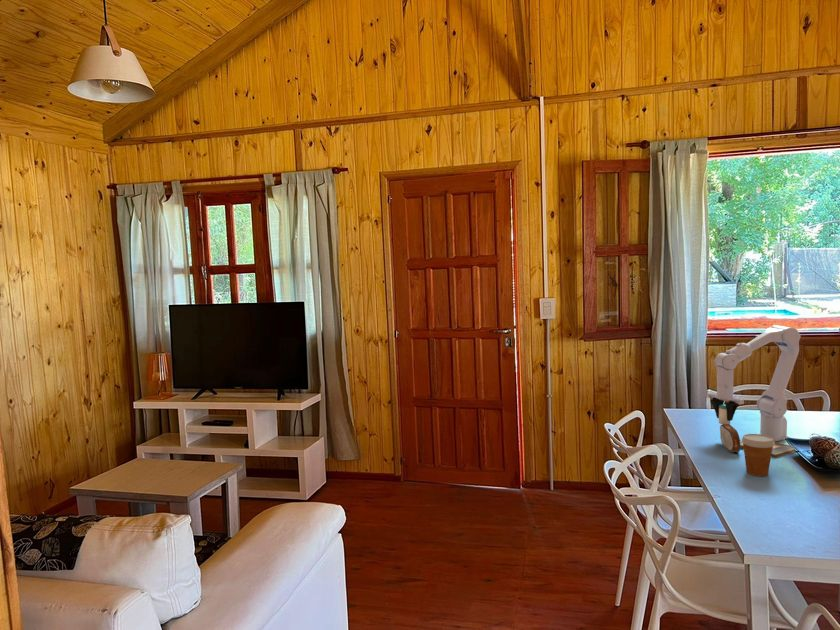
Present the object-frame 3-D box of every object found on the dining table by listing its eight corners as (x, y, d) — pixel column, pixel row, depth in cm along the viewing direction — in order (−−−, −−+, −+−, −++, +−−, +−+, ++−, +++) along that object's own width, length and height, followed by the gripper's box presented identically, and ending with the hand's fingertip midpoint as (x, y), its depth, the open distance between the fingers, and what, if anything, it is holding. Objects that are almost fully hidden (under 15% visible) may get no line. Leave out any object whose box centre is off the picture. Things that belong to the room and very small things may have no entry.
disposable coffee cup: (734, 470, 202) (735, 435, 201) (754, 466, 206) (755, 431, 205) (760, 480, 194) (761, 443, 193) (780, 475, 197) (781, 439, 196)
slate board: (756, 440, 234) (757, 437, 234) (798, 451, 220) (798, 447, 220) (733, 446, 228) (733, 443, 228) (775, 457, 214) (775, 454, 214)
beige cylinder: (723, 421, 237) (723, 403, 236) (732, 423, 233) (732, 405, 233) (716, 422, 235) (716, 405, 235) (725, 425, 232) (725, 407, 231)
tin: (741, 455, 218) (741, 432, 217) (731, 455, 218) (732, 432, 218) (727, 442, 233) (727, 421, 232) (718, 442, 233) (718, 421, 232)
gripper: (701, 382, 238) (701, 416, 239) (735, 389, 225) (735, 424, 226) (713, 380, 241) (713, 413, 242) (747, 386, 228) (747, 422, 229)
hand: (724, 419), depth 234 cm, fingers closed on beige cylinder, 4 cm apart
